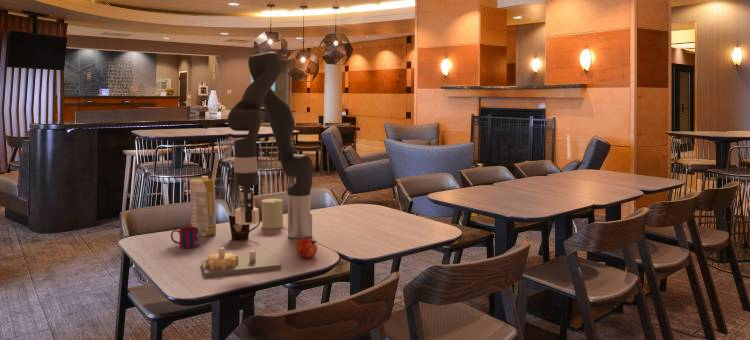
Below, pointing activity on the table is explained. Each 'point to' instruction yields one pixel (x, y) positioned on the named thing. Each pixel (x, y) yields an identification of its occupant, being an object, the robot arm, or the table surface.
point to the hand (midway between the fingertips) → (247, 220)
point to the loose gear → (241, 216)
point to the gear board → (238, 263)
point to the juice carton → (203, 205)
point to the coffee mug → (239, 229)
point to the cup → (187, 237)
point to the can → (272, 213)
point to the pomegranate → (306, 248)
